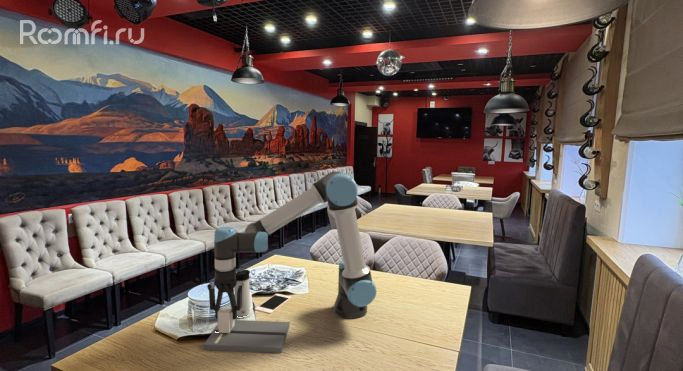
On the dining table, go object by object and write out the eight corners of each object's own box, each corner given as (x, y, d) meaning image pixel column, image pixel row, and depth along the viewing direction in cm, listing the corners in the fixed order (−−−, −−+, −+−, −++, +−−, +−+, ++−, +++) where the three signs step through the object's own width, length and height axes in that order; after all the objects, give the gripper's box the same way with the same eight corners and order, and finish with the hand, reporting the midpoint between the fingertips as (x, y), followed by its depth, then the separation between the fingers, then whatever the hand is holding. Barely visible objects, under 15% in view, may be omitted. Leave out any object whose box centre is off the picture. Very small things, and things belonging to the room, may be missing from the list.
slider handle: (233, 330, 136) (233, 306, 135) (229, 337, 131) (229, 312, 130) (223, 330, 136) (223, 306, 135) (218, 337, 131) (218, 312, 130)
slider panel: (289, 326, 142) (289, 321, 142) (280, 352, 124) (280, 347, 124) (222, 324, 143) (222, 319, 143) (203, 349, 125) (203, 344, 125)
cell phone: (254, 310, 156) (254, 308, 156) (276, 295, 172) (276, 293, 172) (270, 314, 152) (270, 312, 152) (291, 298, 169) (292, 296, 169)
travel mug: (246, 319, 147) (245, 274, 145) (232, 317, 148) (231, 272, 146) (252, 312, 153) (252, 269, 151) (239, 310, 154) (238, 267, 152)
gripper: (250, 265, 134) (251, 322, 137) (206, 263, 134) (208, 320, 137) (245, 272, 127) (245, 332, 129) (198, 270, 127) (200, 330, 130)
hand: (226, 326), depth 133 cm, fingers closed on slider handle, 4 cm apart
